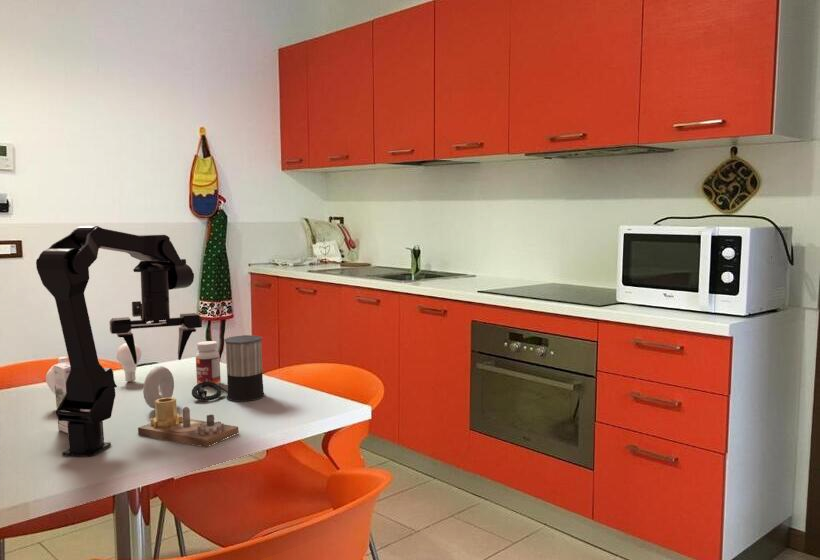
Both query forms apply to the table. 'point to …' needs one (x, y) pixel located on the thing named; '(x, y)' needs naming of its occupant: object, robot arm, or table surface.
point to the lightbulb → (128, 361)
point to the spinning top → (51, 375)
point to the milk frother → (238, 371)
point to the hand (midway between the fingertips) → (157, 361)
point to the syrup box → (62, 389)
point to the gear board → (191, 431)
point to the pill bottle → (208, 362)
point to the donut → (158, 385)
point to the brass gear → (166, 413)
